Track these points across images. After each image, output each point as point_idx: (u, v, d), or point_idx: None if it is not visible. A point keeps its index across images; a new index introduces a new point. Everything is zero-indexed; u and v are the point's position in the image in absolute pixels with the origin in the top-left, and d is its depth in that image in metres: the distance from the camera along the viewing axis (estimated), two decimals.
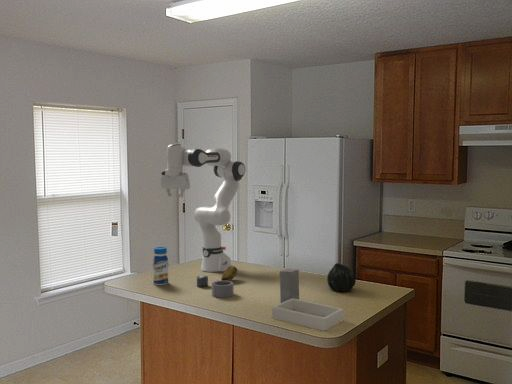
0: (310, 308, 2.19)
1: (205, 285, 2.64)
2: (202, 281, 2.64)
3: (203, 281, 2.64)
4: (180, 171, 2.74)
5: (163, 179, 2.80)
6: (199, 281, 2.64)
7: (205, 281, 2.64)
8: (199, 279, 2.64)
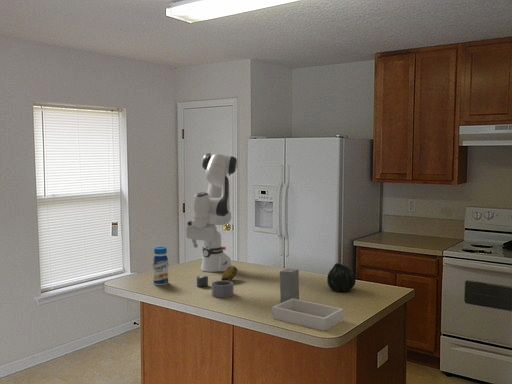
0: (310, 308, 2.19)
1: (205, 285, 2.64)
2: (202, 281, 2.64)
3: (203, 281, 2.64)
4: (207, 222, 2.62)
5: (189, 229, 2.68)
6: (199, 281, 2.64)
7: (205, 281, 2.64)
8: (199, 279, 2.64)
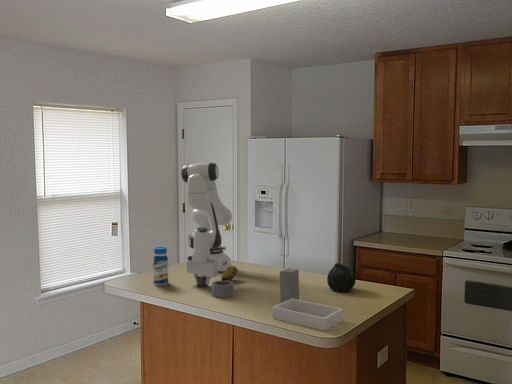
0: (310, 308, 2.19)
1: (205, 285, 2.64)
2: (202, 281, 2.64)
3: (203, 281, 2.64)
4: (208, 257, 2.63)
5: (189, 264, 2.69)
6: (199, 281, 2.64)
7: None
8: (199, 279, 2.64)
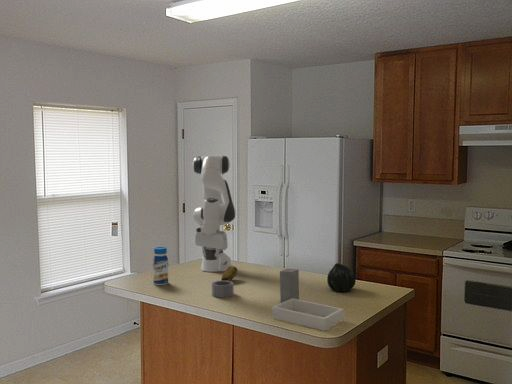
0: (310, 308, 2.19)
1: (214, 258, 2.54)
2: (211, 253, 2.53)
3: (212, 253, 2.53)
4: (217, 229, 2.53)
5: (198, 236, 2.59)
6: (208, 253, 2.54)
7: None
8: (208, 251, 2.54)
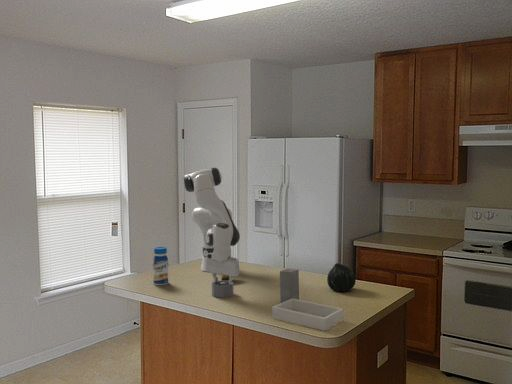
0: (310, 308, 2.19)
1: None
2: None
3: None
4: (229, 255, 2.46)
5: (208, 262, 2.52)
6: None
7: None
8: None
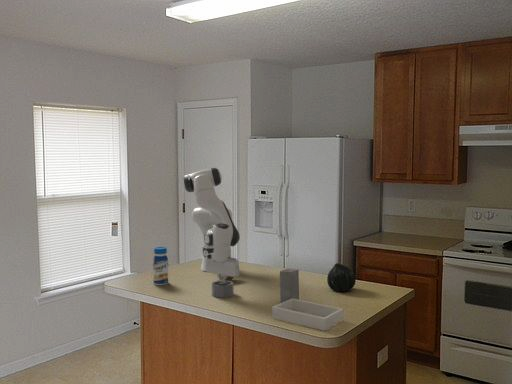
0: (310, 308, 2.19)
1: None
2: None
3: None
4: (229, 255, 2.46)
5: (208, 262, 2.52)
6: None
7: None
8: None
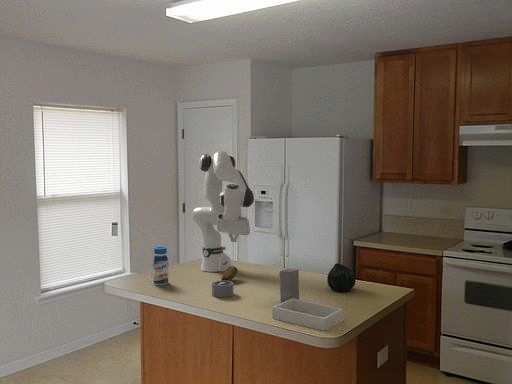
0: (310, 308, 2.19)
1: None
2: None
3: None
4: (239, 215, 2.54)
5: (219, 222, 2.60)
6: None
7: None
8: None
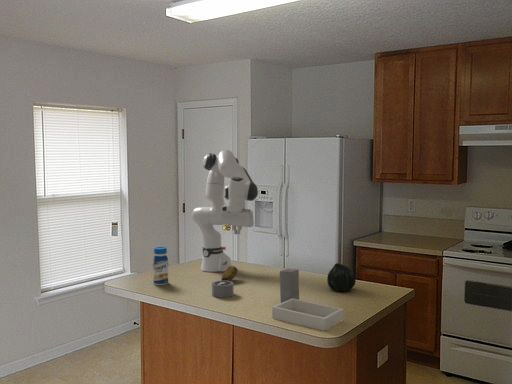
0: (310, 308, 2.19)
1: None
2: None
3: None
4: (243, 207, 2.56)
5: (223, 215, 2.62)
6: None
7: None
8: None
